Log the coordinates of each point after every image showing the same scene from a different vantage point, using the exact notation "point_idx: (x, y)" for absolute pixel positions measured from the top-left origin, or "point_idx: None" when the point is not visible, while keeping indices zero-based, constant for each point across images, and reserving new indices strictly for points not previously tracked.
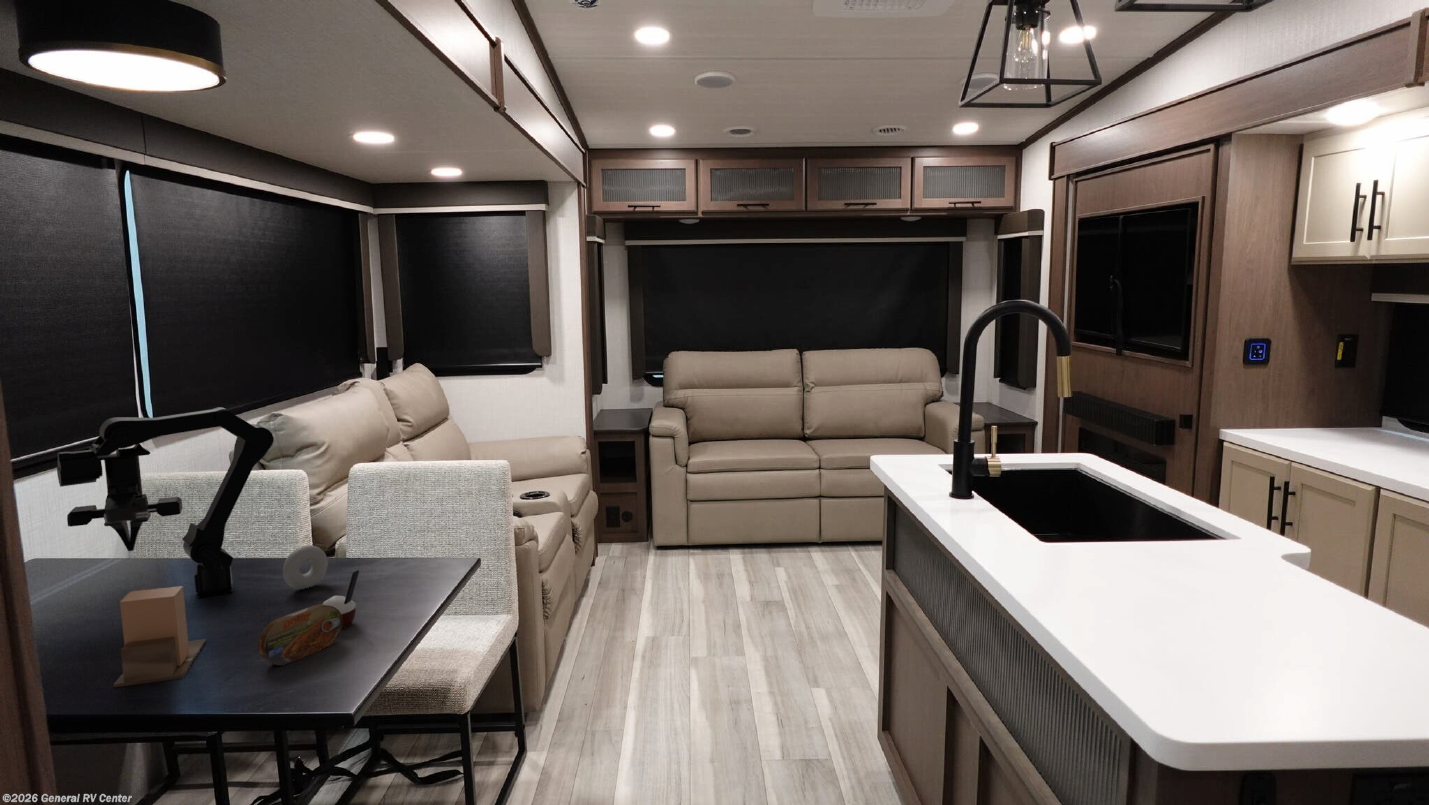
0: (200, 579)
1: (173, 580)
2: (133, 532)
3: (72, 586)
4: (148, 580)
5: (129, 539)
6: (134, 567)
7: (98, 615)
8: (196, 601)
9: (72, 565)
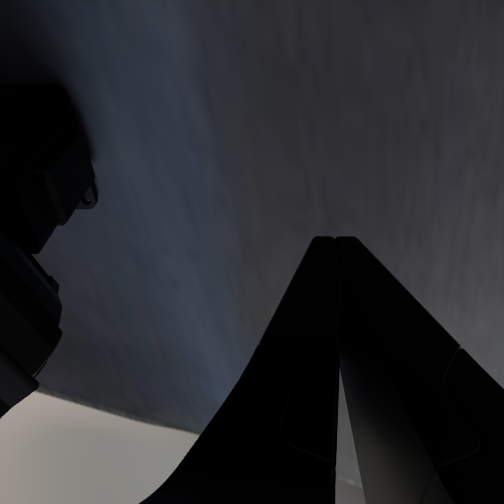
0: (27, 150)
1: (221, 317)
2: (293, 397)
3: (498, 382)
4: None
5: (350, 356)
6: (341, 437)
7: (464, 56)
8: (57, 40)
9: None
